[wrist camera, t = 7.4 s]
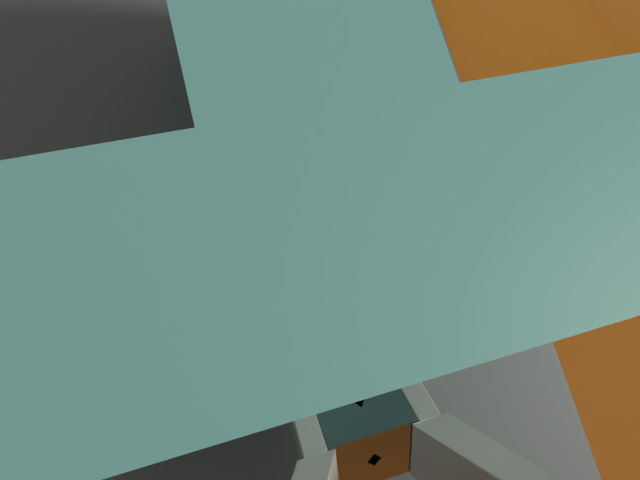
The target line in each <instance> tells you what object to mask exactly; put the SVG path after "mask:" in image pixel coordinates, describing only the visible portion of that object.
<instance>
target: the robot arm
mask: <svg viewBox="0 0 640 480" xmlns="http://www.w3.org/2000/svg"><path fill="white" fill-rule="evenodd" d="M291 426H292V430H293V435H294V440H295V444H296V448H297V452H298V456H299V460H297V461H296V465H295V468H294V471H293V474H292V477H291V480H384V479H388V478H391V477H394V476H397V475H400V474H404V473H407V472H410V474H411V475H412V476H413V477H415V478H416V479H417V480H553V479H552V478H551V476H550V475H549V473H548V472H547V471H546V470H544V469H542V468H540V467H539V466H537V465H535V464H534V463H532V462H530V461H529V460H527V459H525V458H523V457H522V456H520V455H518V454H517V453H515V452H513V451H511V450H510V449H508V448H506V447H505V446H503V445H501V444H499V443H498V442H496V441H494V440H493V439H491V438H489V437H488V436H486V435H484V434H482V433H481V432H479V431H477V430H476V429H474V428H472V427H470V426H469V425H467V424H465V423H464V422H462V421H460V420H458V419H457V418H455V417H453V416H452V415H450V414H448V413H444V414H441V413H440V412H439V410H438V409H437V407H436V405H435V404H434V402H433V400H432V399H431V397H430V395H429V394H428V392H427V390H426V389H425V387H424V385H423V384H422V382H420V383H417V384H413V385H410V386H407V387H404V388H400V389H397V390H394V391H390V392H387V393H384V394H381V395H377V396H374V397H371V398H368V399H364V400H361V401H358V402H354V403H351V404H348V405H345V406H341V407H338V408H335V409H332V410H328V411H325V412H322V413H318V414H315V415H312V416H309V417H305V418H302V419H299V420H296V421H292V422H291Z"/></svg>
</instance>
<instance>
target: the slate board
mask: <svg viewBox="0 0 640 480" xmlns="http://www.w3.org/2000/svg"><path fill="white" fill-rule="evenodd" d="M431 3H432V6H433V9H434V12H435V14H436V17H437V20H438V23H439V26H440V29H441V32H442V35H443V37H444V40H445V43H446V46H447V49H448V52H449V55H450V57H451V60H452V63H453V66H454V69H455V72H456V75H457V77H458V80H459V83H461V80H460V77H459V75H458V72H457V69H456V66H455V63H454V60H453V58H452V55H451V52H450V49H449V46H448V43H447V41H446V38H445V35H444V32H443V29H442V26H441V24H440V21H439V18H438V15H437V12H436V9H435V7H434V4H433V1H432V0H431ZM189 128H195V126H194V122H193V117H192V113H191V108H190V104H189V99H188V95H187V91H186V86H185V82H184V77H183V73H182V68H181V64H180V59H179V55H178V50H177V46H176V41H175V37H174V33H173V28H172V24H171V19H170V15H169V10H168V6H167V1H166V0H0V160H5V159H11V158H17V157H23V156H29V155H35V154H41V153H47V152H52V151H58V150H64V149H70V148H76V147H82V146H88V145H94V144H100V143H106V142H112V141H118V140H124V139H130V138H136V137H141V136H147V135H153V134H159V133H165V132H171V131H177V130H183V129H189ZM422 384H423V385H424V387H425V389H426V390H427V392H428V394H429V395H430V397H431V399H432V400H433V402H434V404H435V405H436V407H437V409H438V410H439V412H440V413H441V414H444V413H448V414H450V415H452V416H453V417H455V418H457V419H458V420H460V421H462V422H464V423H465V424H467V425H469V426H470V427H472V428H474V429H476V430H477V431H479V432H481V433H482V434H484V435H486V436H488V437H489V438H491V439H493V440H494V441H496V442H498V443H499V444H501V445H503V446H505V447H506V448H508V449H510V450H511V451H513V452H515V453H517V454H518V455H520V456H522V457H523V458H525V459H527V460H529V461H530V462H532V463H534V464H535V465H537V466H539V467H540V468H542V469H544V470H546V471H547V472H548V473H549V475H550V476H551V478H552V479H553V480H601V477H600V474H599V471H598V468H597V465H596V463H595V460H594V457H593V454H592V451H591V448H590V446H589V443H588V440H587V437H586V434H585V431H584V429H583V426H582V423H581V420H580V417H579V414H578V412H577V409H576V406H575V403H574V400H573V397H572V395H571V392H570V389H569V386H568V383H567V380H566V378H565V375H564V372H563V369H562V366H561V364H560V361H559V358H558V355H557V352H556V349H555V347H554V344H553V342H551V343H548V344H544V345H541V346H538V347H534V348H531V349H528V350H525V351H521V352H518V353H515V354H512V355H508V356H505V357H502V358H498V359H495V360H492V361H489V362H485V363H482V364H479V365H476V366H472V367H469V368H466V369H462V370H459V371H456V372H453V373H449V374H446V375H443V376H440V377H436V378H433V379H430V380H426V381H423V382H422ZM297 460H299V456H298V452H297V448H296V444H295V440H294V435H293V430H292V426H291V422H289V423H286V424H282V425H279V426H276V427H273V428H269V429H266V430H263V431H260V432H256V433H253V434H250V435H246V436H243V437H240V438H237V439H233V440H230V441H227V442H224V443H220V444H217V445H214V446H210V447H207V448H204V449H201V450H197V451H194V452H191V453H188V454H184V455H181V456H178V457H174V458H171V459H168V460H165V461H161V462H158V463H155V464H152V465H148V466H145V467H142V468H138V469H135V470H132V471H129V472H125V473H122V474H119V475H116V476H112V477H109V478H106V479H102V480H291V477H292V474H293V471H294V468H295V465H296V461H297ZM384 480H417V479H416V478H415V477H413V476H412V475H411V474H410V472H407V473H404V474H400V475H397V476H394V477H391V478H388V479H384Z"/></svg>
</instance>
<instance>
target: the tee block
mask: <svg viewBox="0 0 640 480" xmlns="http://www.w3.org/2000/svg"><path fill="white" fill-rule="evenodd" d="M166 1H167V6H168V10H169V15H170V19H171V24H172V28H173V33H174V37H175V41H176V46H177V50H178V55H179V59H180V64H181V68H182V73H183V77H184V82H185V86H186V91H187V95H188V99H189V104H190V108H191V113H192V117H193V122H194V126H195V128H189V129H183V130H177V131H171V132H165V133H159V134H153V135H147V136H141V137H136V138H130V139H124V140H118V141H112V142H106V143H100V144H94V145H88V146H82V147H76V148H70V149H64V150H58V151H52V152H47V153H41V154H35V155H29V156H23V157H17V158H11V159H5V160H0V480H102V479H106V478H109V477H112V476H116V475H119V474H122V473H125V472H129V471H132V470H135V469H138V468H142V467H145V466H148V465H152V464H155V463H158V462H161V461H165V460H168V459H171V458H174V457H178V456H181V455H184V454H188V453H191V452H194V451H197V450H201V449H204V448H207V447H210V446H214V445H217V444H220V443H224V442H227V441H230V440H233V439H237V438H240V437H243V436H246V435H250V434H253V433H256V432H260V431H263V430H266V429H269V428H273V427H276V426H279V425H282V424H286V423H289V422H292V421H296V420H299V419H302V418H305V417H309V416H312V415H315V414H318V413H322V412H325V411H328V410H332V409H335V408H338V407H341V406H345V405H348V404H351V403H354V402H358V401H361V400H364V399H368V398H371V397H374V396H377V395H381V394H384V393H387V392H390V391H394V390H397V389H400V388H404V387H407V386H410V385H413V384H417V383H420V382H423V381H426V380H430V379H433V378H436V377H440V376H443V375H446V374H449V373H453V372H456V371H459V370H462V369H466V368H469V367H472V366H476V365H479V364H482V363H485V362H489V361H492V360H495V359H498V358H502V357H505V356H508V355H512V354H515V353H518V352H521V351H525V350H528V349H531V348H534V347H538V346H541V345H544V344H548V343H551V342H554V341H557V340H561V339H564V338H567V337H570V336H574V335H577V334H580V333H584V332H587V331H590V330H593V329H597V328H600V327H603V326H606V325H610V324H613V323H616V322H619V321H623V320H626V319H629V318H633V317H636V316H639V315H640V53H634V54H628V55H622V56H616V57H610V58H604V59H598V60H592V61H586V62H581V63H575V64H569V65H563V66H557V67H551V68H545V69H539V70H533V71H527V72H521V73H515V74H509V75H503V76H497V77H492V78H486V79H480V80H474V81H468V82H462V83H459V80H458V77H457V75H456V72H455V69H454V66H453V63H452V60H451V57H450V55H449V52H448V49H447V46H446V43H445V40H444V37H443V35H442V32H441V29H440V26H439V23H438V20H437V17H436V14H435V12H434V9H433V6H432V3H431V0H166Z"/></svg>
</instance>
